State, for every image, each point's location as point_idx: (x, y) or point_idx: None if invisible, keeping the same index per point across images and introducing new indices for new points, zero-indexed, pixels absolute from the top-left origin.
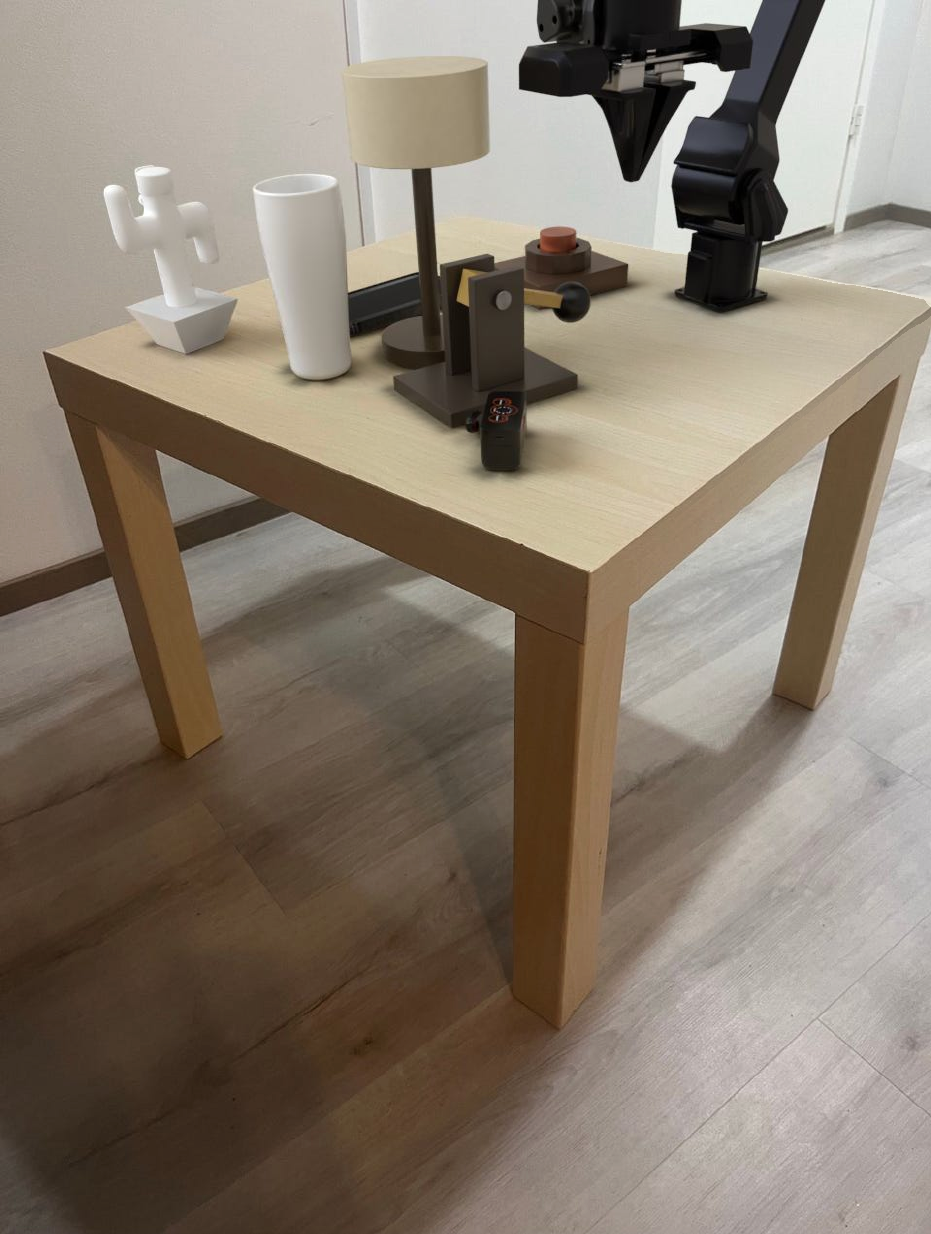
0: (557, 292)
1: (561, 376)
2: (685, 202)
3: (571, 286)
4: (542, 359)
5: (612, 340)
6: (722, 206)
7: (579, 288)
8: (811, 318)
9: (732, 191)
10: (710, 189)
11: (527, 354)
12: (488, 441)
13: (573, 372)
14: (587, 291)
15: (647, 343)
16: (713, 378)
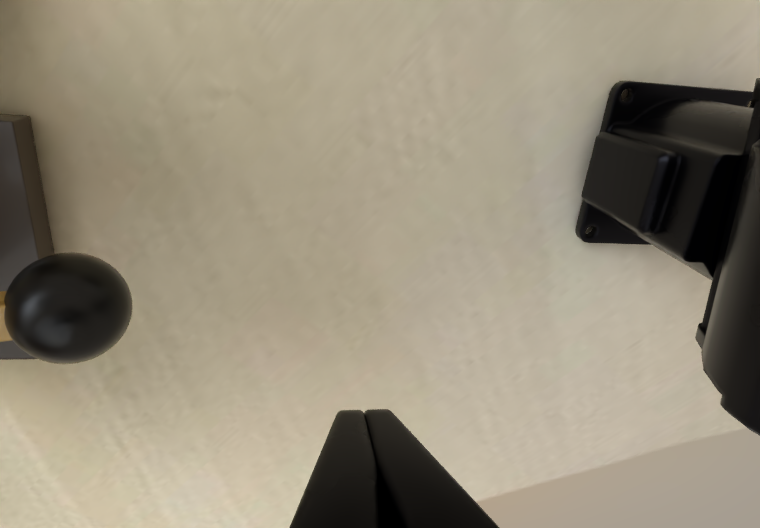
0: (4, 319)
1: (18, 349)
2: (745, 205)
3: (37, 350)
4: (26, 256)
5: (295, 198)
6: (713, 360)
7: (61, 360)
8: (649, 350)
9: (743, 422)
10: (757, 343)
11: (6, 211)
12: None
13: None
14: (100, 351)
15: (341, 257)
16: (312, 430)
